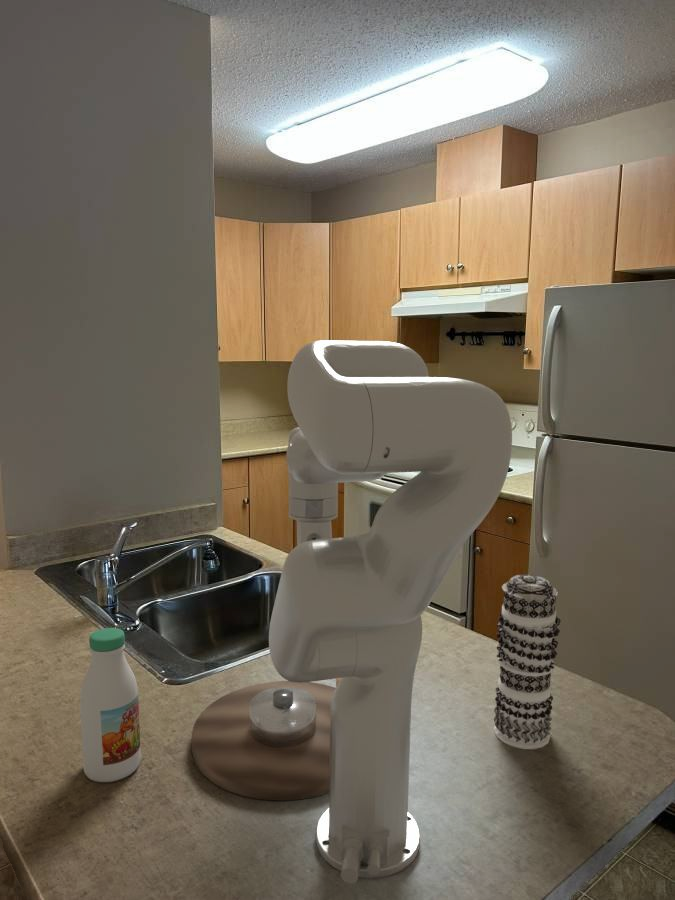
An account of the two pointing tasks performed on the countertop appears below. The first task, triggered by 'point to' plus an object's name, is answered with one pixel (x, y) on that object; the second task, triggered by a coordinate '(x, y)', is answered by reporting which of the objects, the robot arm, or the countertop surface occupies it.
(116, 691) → the milk bottle
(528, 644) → the decorative candle
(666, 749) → the countertop surface
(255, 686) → the turntable
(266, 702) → the lid
